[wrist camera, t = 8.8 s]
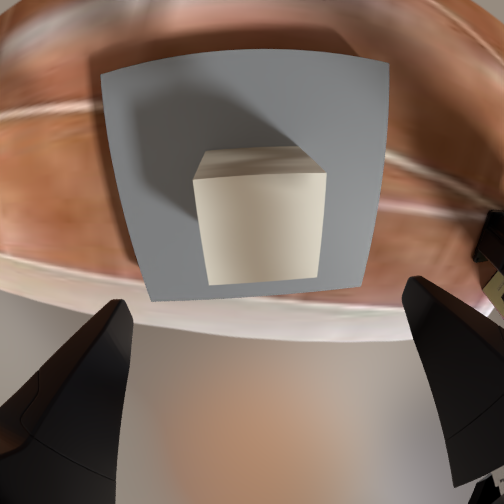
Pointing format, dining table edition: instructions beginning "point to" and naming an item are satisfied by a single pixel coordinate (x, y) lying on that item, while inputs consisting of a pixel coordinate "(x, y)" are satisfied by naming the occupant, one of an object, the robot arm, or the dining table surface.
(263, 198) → the cube
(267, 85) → the base board
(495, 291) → the box
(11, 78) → the dining table surface
